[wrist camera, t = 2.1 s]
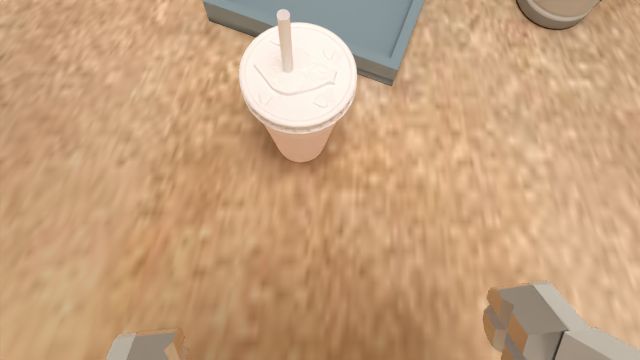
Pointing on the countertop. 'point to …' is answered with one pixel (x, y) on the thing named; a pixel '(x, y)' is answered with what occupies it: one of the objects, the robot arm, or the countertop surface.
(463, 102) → the countertop surface
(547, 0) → the travel mug
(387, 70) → the tray
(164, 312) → the countertop surface
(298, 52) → the smoothie
